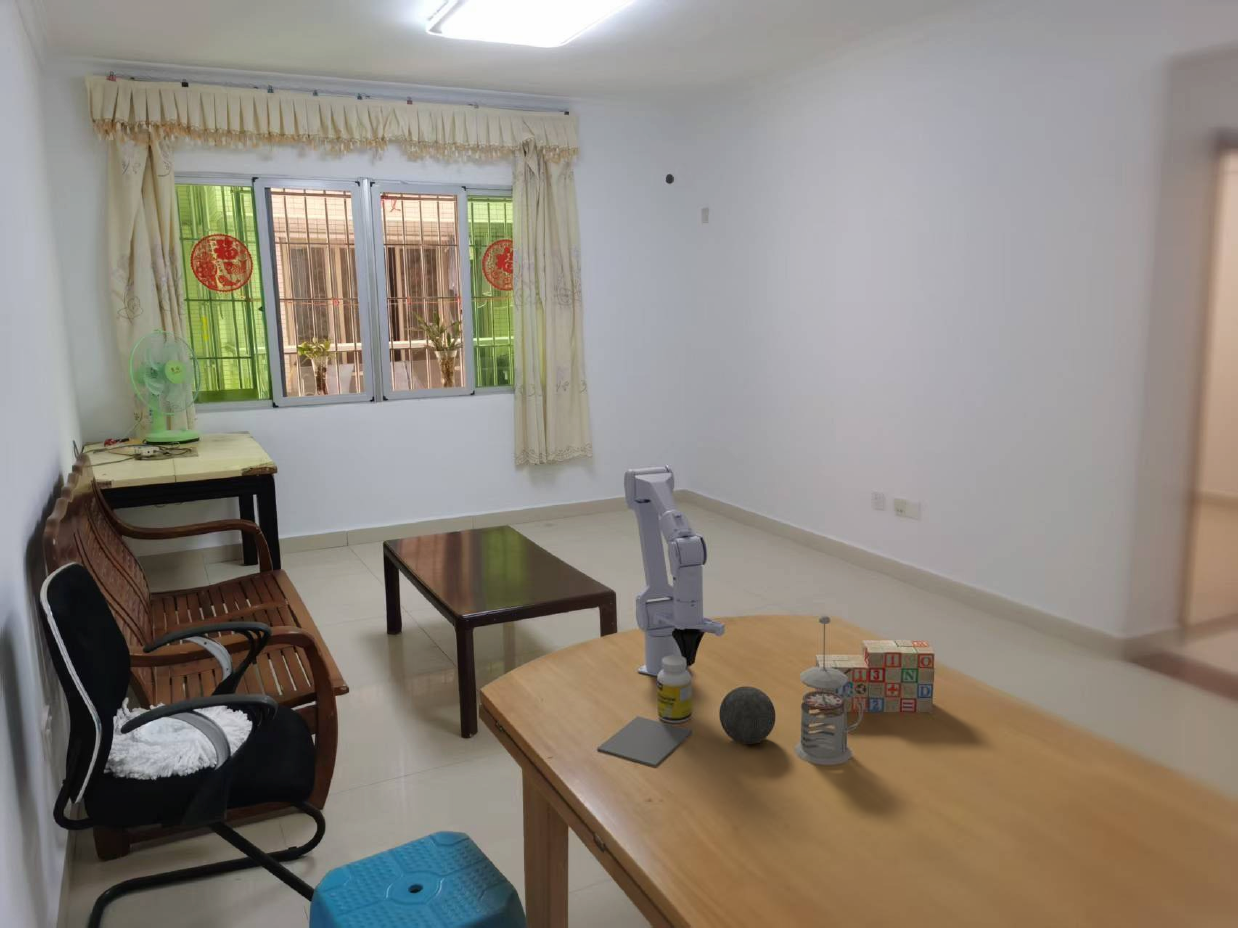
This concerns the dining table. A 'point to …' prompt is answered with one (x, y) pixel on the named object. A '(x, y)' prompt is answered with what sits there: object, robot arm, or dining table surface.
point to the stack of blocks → (886, 676)
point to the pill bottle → (674, 690)
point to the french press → (829, 742)
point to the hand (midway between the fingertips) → (689, 663)
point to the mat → (645, 741)
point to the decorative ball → (747, 715)
